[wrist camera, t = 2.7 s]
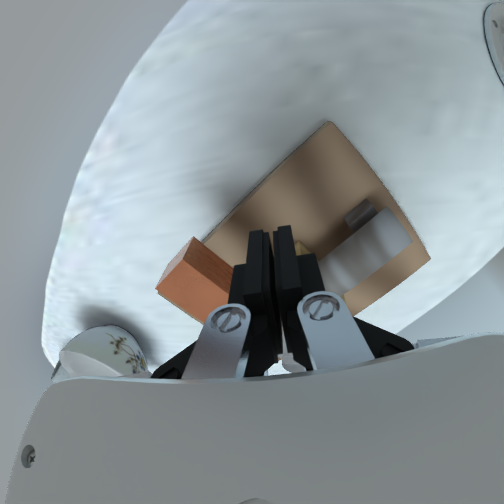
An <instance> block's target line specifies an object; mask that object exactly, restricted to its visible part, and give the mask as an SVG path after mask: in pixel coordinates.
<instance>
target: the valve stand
mask: <svg viewBox="0 0 504 504" xmlns="http://www.w3.org/2000/svg"><path fill="white" fill-rule="evenodd" d="M286 225H291V230H292V235H293V240H294V245H295V251H296V256H297V255H303V254H310V253H315V255H316V258H317V262H318V265H319V269H320V272H321V276H322V280H323V283H324V287H325V291H328V292H332V293H335V294H337V295H338V296H340V297H341V298H342V299H343V301H344V302H345V304H346V306H347V308H348V309H349V311H350V313H351V315H352V316H355V315H356V314H358V313H359V312H361V311H362V310H364V309H365V308H366V307H368V306H369V305H371V304H372V303H374V302H375V301H377V300H378V299H379V298H381V297H382V296H384V295H385V294H386V293H388V292H389V291H391V290H392V289H393V288H395V287H396V286H397V285H399V284H400V283H401V282H403V281H404V280H405V279H407V278H408V277H409V276H410V275H412V274H413V273H414V272H416V271H417V270H418V269H419V268H421V267H422V266H423V265H424V264H426V263H427V262H428V261H429V260H430V259H431V258H430V256H429V254H428V253H427V251H426V249H425V247H424V246H423V244H422V242H421V241H420V239H419V237H418V236H417V234H416V232H415V231H414V229H413V227H412V226H411V224H410V223H409V221H408V220H407V218H406V216H405V215H404V213H403V212H402V210H401V209H400V207H399V206H398V204H397V203H396V202H395V200H394V199H393V197H392V196H391V194H390V193H389V192H388V190H387V189H386V187H385V186H384V185H383V183H382V182H381V181H380V179H379V178H378V177H377V175H376V174H375V173H374V171H373V170H372V169H371V167H370V166H369V165H368V164H367V162H366V161H365V160H364V159H363V157H362V156H361V155H360V154H359V152H358V151H357V150H356V149H355V148H354V146H353V145H352V144H351V143H350V142H349V140H348V139H347V138H346V137H345V136H344V135H343V134H342V132H341V131H340V130H339V129H338V128H337V127H336V126H335V125H334V124H333V122H330V121H327V122H326V123H325V124H324V125H323V126H321V127H320V128H319V129H318V130H317V131H316V132H315V133H314V134H313V135H311V136H310V137H309V138H308V139H307V140H306V141H305V142H304V143H303V144H302V145H300V146H299V147H298V148H297V149H296V150H295V151H294V152H293V153H292V154H291V155H290V156H289V157H287V158H286V159H285V160H284V161H283V162H282V163H281V164H280V165H279V166H278V167H277V168H276V169H275V170H274V171H273V172H272V173H270V174H269V175H268V176H267V177H266V178H265V179H264V180H263V181H262V182H261V183H260V184H259V185H258V186H257V187H256V188H255V189H254V190H253V191H252V192H251V193H250V194H249V195H248V196H247V197H246V198H245V199H244V200H243V201H242V202H241V203H240V204H239V205H238V206H236V207H235V208H234V209H233V210H232V211H231V212H230V213H229V214H228V215H227V216H226V217H225V218H224V219H223V220H222V221H221V223H220V224H219V225H218V226H217V227H216V228H215V229H214V230H213V231H212V232H211V233H210V234H209V235H208V236H207V237H206V238H205V239H204V240H203V241H202V242H201V243H202V244H204V245H205V246H206V247H207V248H209V249H210V250H211V251H212V252H214V253H215V254H216V255H217V256H219V257H220V258H221V259H223V260H224V261H225V262H226V263H228V264H229V265H230V266H231V267H233V268H234V265H238V264H245V263H246V257H247V248H248V239H249V231H255V230H261V229H263V231H264V232H269V236H270V241H271V246H272V251H273V256H274V247H273V231H277V230H278V229H277V227H279V226H286ZM158 294H159V295H161V296H162V297H164V298H165V299H166V300H168V301H169V302H171V303H172V304H173V305H175V306H176V307H178V308H179V309H181V310H182V311H183V312H185V313H186V314H188V315H189V316H191V317H192V318H194V319H195V320H197V321H198V322H200V323H201V324H203V325H204V322H202V321H201V320H199V319H198V318H196V317H195V316H193V315H192V314H190V313H189V312H187V311H186V310H185V309H183V308H182V307H180V306H179V305H177V304H176V303H174V302H173V301H172V300H170V299H169V298H167V297H166V296H165V295H163V294H162V293H161V292H159V291H158ZM279 360H281V358H279V357H278V361H279Z"/></svg>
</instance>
